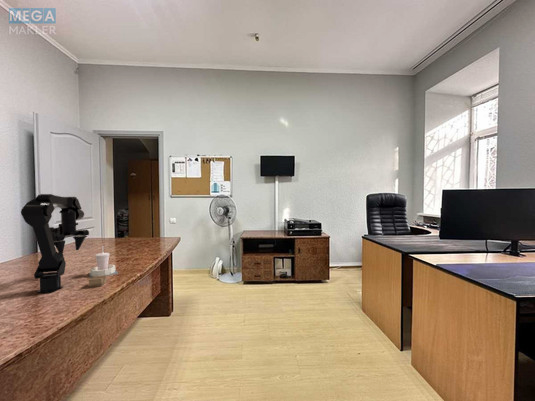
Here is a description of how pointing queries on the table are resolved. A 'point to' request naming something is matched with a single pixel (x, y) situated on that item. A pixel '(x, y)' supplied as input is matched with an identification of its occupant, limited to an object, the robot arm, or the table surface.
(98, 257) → the smoothie
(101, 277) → the walnut block
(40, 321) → the table surface
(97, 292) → the table surface
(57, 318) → the table surface
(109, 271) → the white bowl
